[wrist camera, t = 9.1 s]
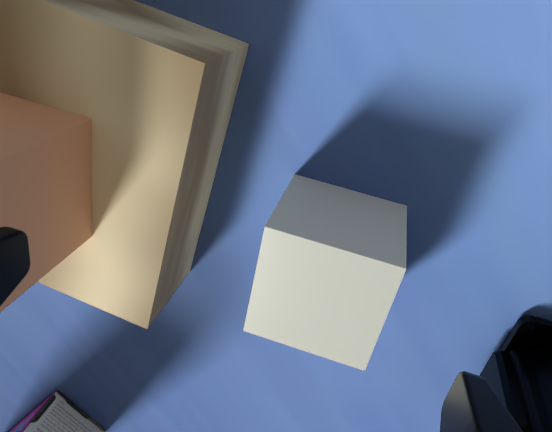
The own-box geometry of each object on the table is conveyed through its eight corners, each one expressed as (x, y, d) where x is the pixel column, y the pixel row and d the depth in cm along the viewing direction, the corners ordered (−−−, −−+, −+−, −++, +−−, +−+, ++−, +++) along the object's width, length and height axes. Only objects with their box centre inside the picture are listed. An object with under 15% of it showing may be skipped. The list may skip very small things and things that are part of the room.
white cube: (406, 204, 20) (406, 268, 16) (373, 294, 22) (364, 370, 18) (295, 173, 20) (264, 226, 16) (274, 263, 23) (243, 330, 19)
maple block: (252, 42, 19) (205, 63, 14) (192, 267, 25) (147, 329, 21) (-11, -57, 20) (-129, -66, 15) (-6, 184, 26) (-89, 227, 21)
